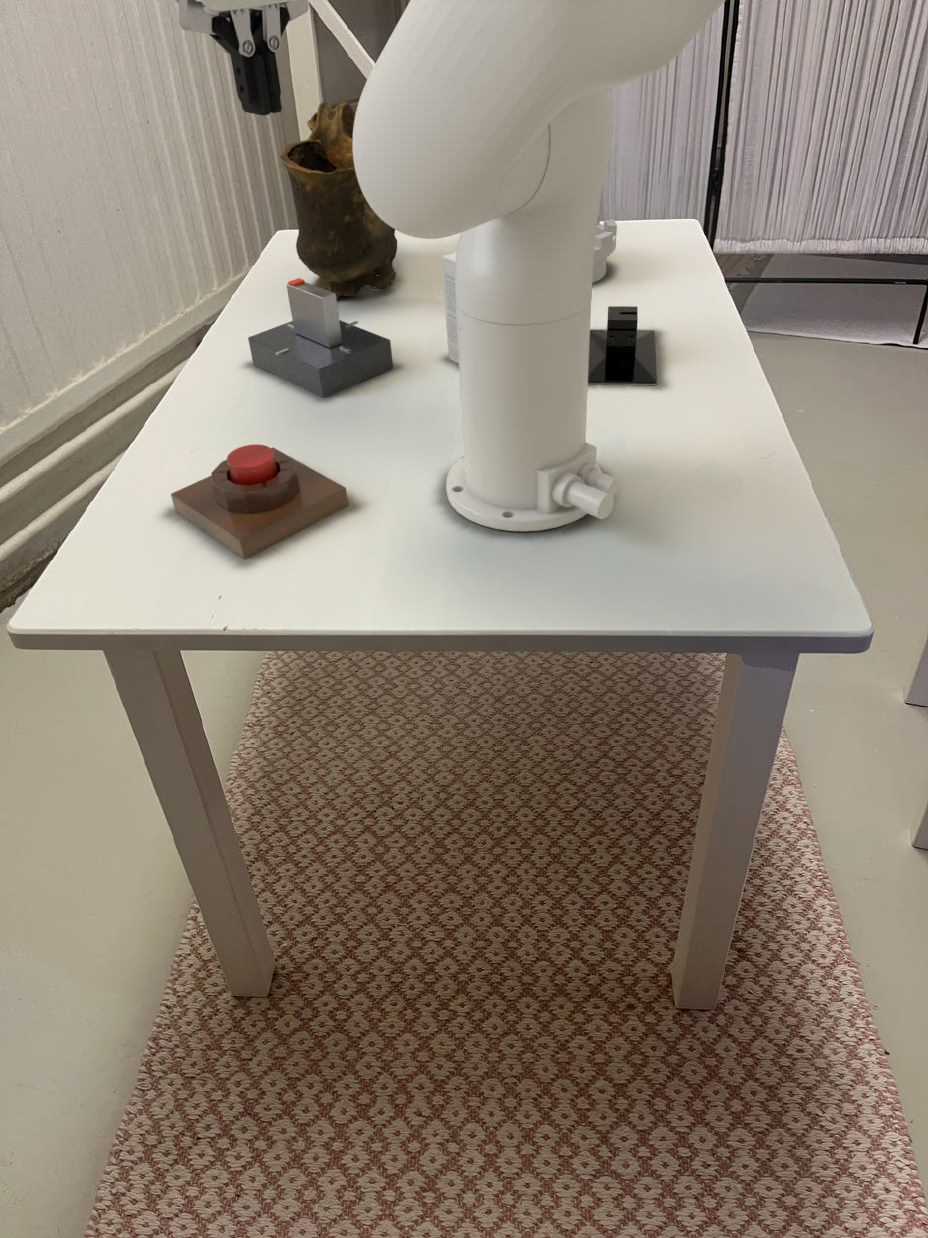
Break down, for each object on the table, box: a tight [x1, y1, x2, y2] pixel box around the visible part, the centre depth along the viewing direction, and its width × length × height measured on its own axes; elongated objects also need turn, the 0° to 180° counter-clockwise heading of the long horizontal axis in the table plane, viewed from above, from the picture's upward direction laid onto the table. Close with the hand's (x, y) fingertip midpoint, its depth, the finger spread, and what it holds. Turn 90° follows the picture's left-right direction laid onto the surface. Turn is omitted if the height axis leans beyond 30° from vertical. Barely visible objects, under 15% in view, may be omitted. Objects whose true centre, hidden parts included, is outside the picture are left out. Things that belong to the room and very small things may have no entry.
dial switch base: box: [247, 319, 394, 399], centre depth 94 cm, size 12×10×3 cm
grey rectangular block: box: [286, 277, 342, 348], centre depth 92 cm, size 6×2×5 cm, turn 44°
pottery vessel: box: [279, 101, 398, 300], centre depth 108 cm, size 25×11×20 cm, turn 176°
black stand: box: [588, 305, 658, 386], centre depth 92 cm, size 12×7×5 cm, turn 172°
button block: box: [170, 447, 349, 560], centre depth 74 cm, size 10×10×4 cm
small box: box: [441, 251, 459, 365], centre depth 92 cm, size 8×6×10 cm
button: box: [226, 444, 277, 485], centre depth 72 cm, size 4×4×2 cm
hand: (262, 111), depth 73 cm, fingers closed
